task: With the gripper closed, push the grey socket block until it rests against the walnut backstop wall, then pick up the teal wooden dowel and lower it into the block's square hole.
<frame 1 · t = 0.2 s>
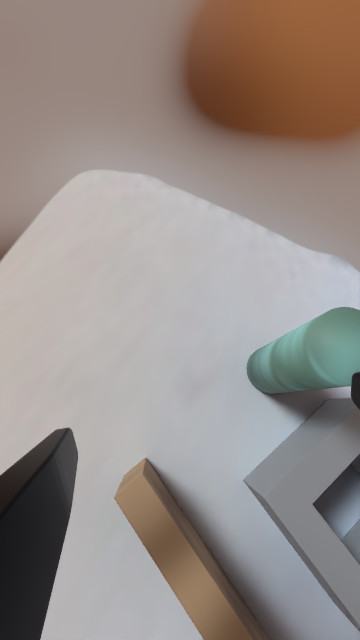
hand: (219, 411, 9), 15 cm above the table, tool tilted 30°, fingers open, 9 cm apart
backstop wall: (217, 589, 20), on the table
dowel: (269, 370, 25), on the table
socket block: (330, 491, 22), on the table
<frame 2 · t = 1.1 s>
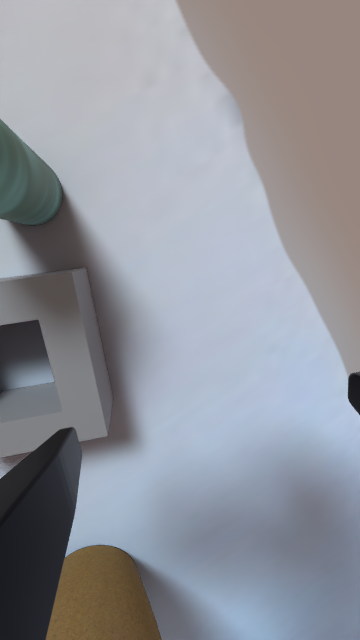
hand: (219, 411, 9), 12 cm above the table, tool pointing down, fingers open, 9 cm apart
dowel: (28, 191, 17), on the table
plant pot: (97, 572, 26), on the table
socket block: (28, 348, 20), on the table
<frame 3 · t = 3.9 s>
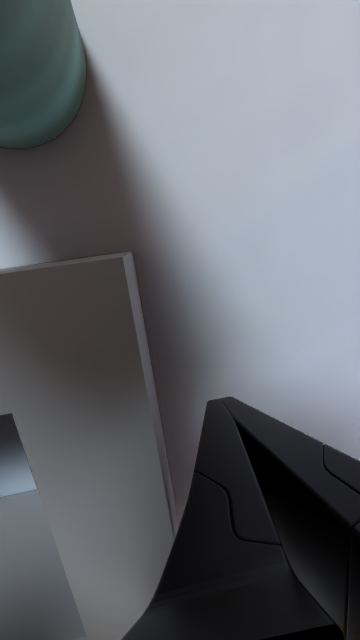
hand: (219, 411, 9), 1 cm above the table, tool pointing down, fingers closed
dowel: (2, 58, 7), on the table
socket block: (8, 424, 9), on the table, touching gripper
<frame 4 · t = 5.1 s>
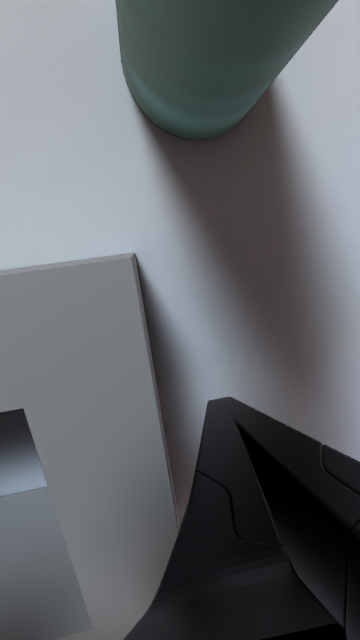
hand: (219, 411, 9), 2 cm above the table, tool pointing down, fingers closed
dowel: (194, 57, 8), on the table
socket block: (12, 423, 9), on the table, touching backstop wall, gripper
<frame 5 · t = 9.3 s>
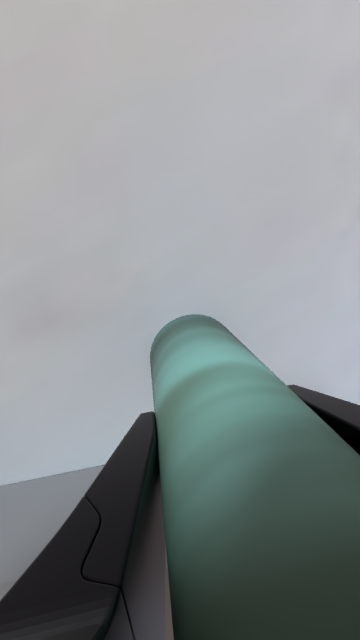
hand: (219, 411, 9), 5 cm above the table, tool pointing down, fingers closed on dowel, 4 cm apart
dowel: (193, 356, 13), on the table, touching gripper
socket block: (76, 551, 15), on the table
when the fingers open (5 cm above the table, at t = 13.1 s): dowel drops 1 cm, resting in socket block.
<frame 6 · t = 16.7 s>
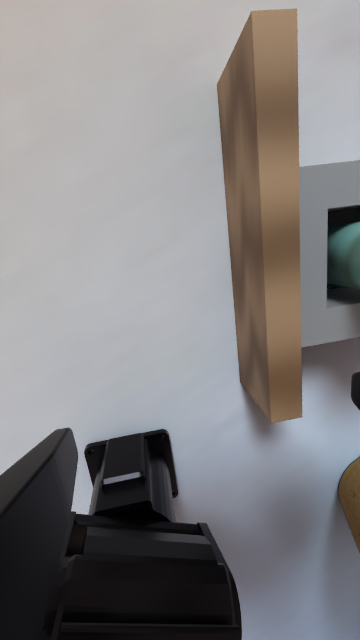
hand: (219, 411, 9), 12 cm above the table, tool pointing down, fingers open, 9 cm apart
backstop wall: (243, 251, 20), on the table
dowel: (323, 254, 21), resting in socket block
socket block: (323, 252, 21), on the table
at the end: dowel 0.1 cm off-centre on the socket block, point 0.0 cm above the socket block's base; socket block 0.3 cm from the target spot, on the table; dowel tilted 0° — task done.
